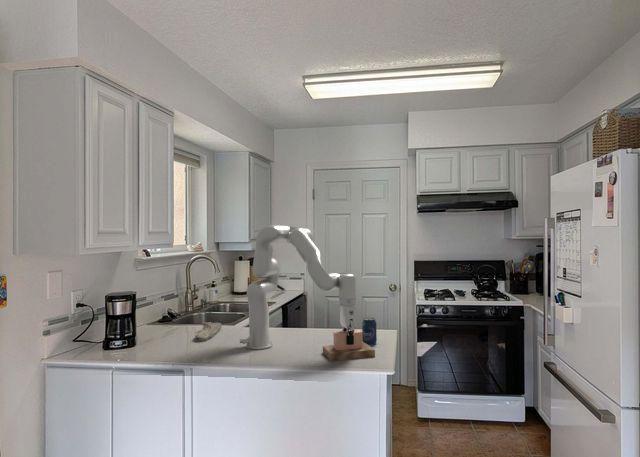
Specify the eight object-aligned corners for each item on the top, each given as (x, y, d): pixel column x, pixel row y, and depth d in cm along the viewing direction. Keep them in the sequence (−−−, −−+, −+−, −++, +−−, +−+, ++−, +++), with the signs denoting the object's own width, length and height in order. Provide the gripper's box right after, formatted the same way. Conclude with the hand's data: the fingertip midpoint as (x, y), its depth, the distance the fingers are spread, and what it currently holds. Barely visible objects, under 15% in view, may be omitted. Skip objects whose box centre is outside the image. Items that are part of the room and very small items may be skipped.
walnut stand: (331, 360, 184) (330, 353, 184) (322, 352, 196) (322, 346, 196) (375, 356, 189) (374, 349, 189) (364, 348, 202) (364, 342, 202)
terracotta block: (362, 347, 192) (362, 332, 192) (336, 350, 189) (336, 334, 189) (359, 345, 197) (358, 329, 197) (333, 347, 193) (333, 332, 193)
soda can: (362, 345, 208) (361, 320, 209) (362, 341, 215) (362, 317, 215) (376, 345, 207) (376, 320, 207) (376, 341, 214) (376, 317, 214)
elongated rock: (190, 345, 220) (209, 346, 220) (190, 335, 220) (209, 335, 220) (207, 326, 255) (224, 327, 255) (207, 317, 254) (224, 318, 255)
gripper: (362, 304, 186) (362, 347, 186) (349, 298, 202) (349, 337, 202) (345, 305, 184) (346, 348, 184) (333, 299, 200) (334, 339, 200)
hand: (348, 342), depth 193 cm, fingers open, 5 cm apart
